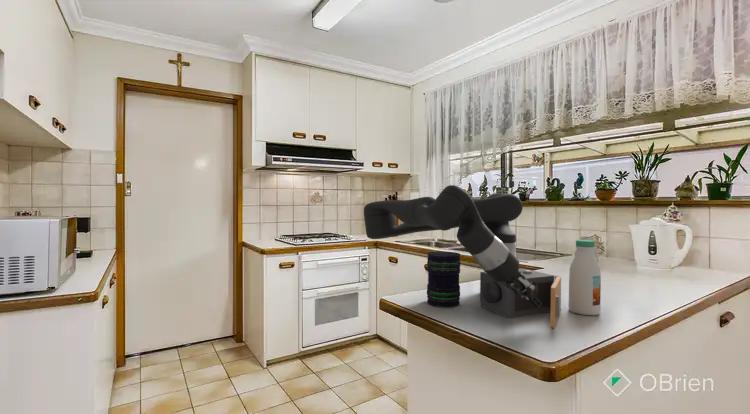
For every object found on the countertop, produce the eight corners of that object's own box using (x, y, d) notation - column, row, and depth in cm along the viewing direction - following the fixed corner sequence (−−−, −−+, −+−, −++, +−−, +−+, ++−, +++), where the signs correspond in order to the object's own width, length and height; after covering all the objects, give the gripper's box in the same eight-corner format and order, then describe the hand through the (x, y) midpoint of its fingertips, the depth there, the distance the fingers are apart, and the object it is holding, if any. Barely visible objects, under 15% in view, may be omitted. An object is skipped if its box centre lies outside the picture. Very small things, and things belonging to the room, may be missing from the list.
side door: (558, 328, 91) (558, 288, 90) (547, 326, 92) (548, 287, 92) (563, 310, 105) (564, 276, 105) (554, 309, 106) (555, 275, 106)
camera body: (504, 319, 99) (505, 278, 98) (474, 307, 110) (474, 270, 109) (554, 311, 106) (555, 273, 106) (521, 300, 117) (521, 266, 117)
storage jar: (445, 310, 107) (445, 257, 106) (419, 302, 114) (420, 253, 114) (467, 303, 113) (467, 254, 113) (441, 297, 120) (442, 250, 120)
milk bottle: (583, 317, 101) (585, 242, 100) (562, 309, 108) (563, 239, 108) (607, 315, 103) (608, 241, 102) (584, 307, 110) (585, 238, 110)
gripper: (469, 264, 94) (512, 309, 98) (499, 274, 82) (547, 326, 85) (489, 242, 96) (530, 288, 99) (521, 249, 83) (567, 301, 86)
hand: (538, 306), depth 92 cm, fingers closed
